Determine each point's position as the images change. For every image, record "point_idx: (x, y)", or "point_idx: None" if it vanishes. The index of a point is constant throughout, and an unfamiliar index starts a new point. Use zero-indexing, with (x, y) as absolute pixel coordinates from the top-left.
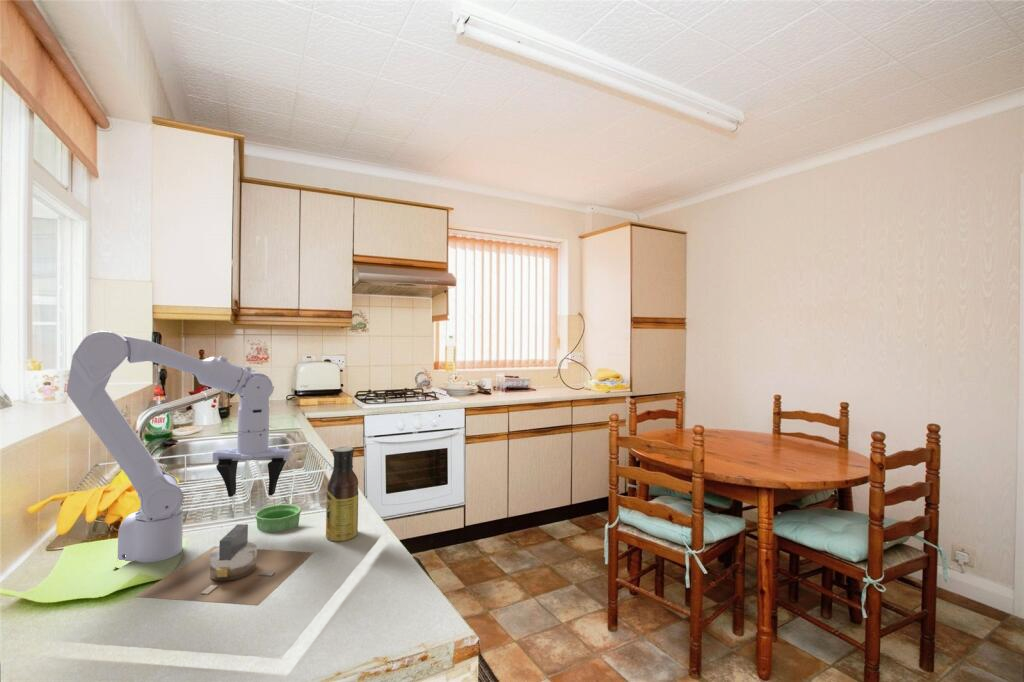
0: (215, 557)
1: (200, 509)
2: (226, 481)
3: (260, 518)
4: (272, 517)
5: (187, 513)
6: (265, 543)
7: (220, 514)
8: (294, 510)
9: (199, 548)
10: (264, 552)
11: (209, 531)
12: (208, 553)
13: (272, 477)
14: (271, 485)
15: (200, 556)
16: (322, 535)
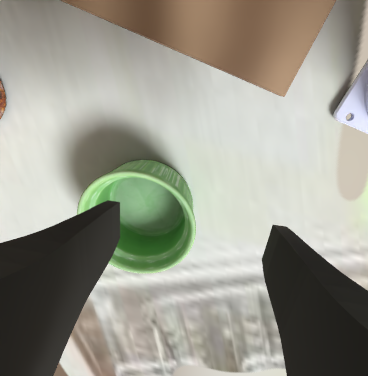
0: None
1: None
2: (329, 272)
3: (174, 189)
4: (164, 243)
5: None
6: (161, 132)
7: None
8: None
9: (318, 142)
10: (132, 6)
11: (303, 237)
12: (295, 40)
13: (47, 237)
14: (83, 217)
15: (317, 18)
16: (37, 147)
